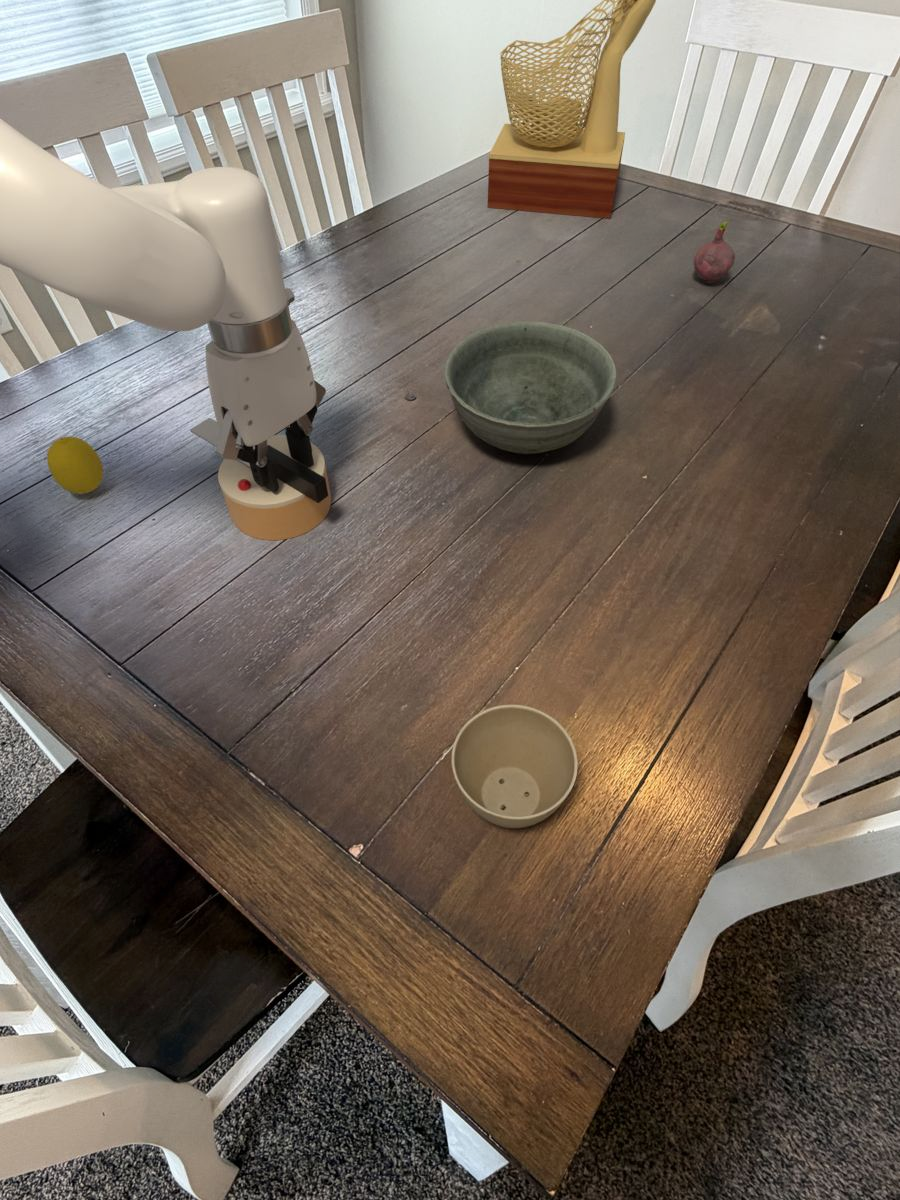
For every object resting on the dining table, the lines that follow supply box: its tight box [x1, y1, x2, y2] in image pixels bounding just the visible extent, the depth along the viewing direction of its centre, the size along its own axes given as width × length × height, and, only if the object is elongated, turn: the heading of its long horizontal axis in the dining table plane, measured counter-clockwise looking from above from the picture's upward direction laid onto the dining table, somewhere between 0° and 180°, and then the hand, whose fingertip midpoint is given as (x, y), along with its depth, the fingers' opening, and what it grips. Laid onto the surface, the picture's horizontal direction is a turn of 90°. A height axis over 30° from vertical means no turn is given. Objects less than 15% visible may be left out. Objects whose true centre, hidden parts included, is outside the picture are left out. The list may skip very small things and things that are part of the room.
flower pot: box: [451, 704, 579, 829], centre depth 61 cm, size 10×10×7 cm
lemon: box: [46, 436, 104, 495], centre depth 86 cm, size 6×6×8 cm
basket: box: [487, 0, 657, 219], centre depth 128 cm, size 25×18×35 cm
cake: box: [217, 434, 332, 541], centre depth 85 cm, size 12×12×6 cm
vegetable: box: [693, 221, 736, 284], centre depth 116 cm, size 6×6×10 cm
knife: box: [189, 417, 328, 503], centre depth 83 cm, size 3×21×3 cm, turn 51°
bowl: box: [443, 320, 617, 455], centre depth 91 cm, size 21×21×10 cm
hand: (285, 472), depth 81 cm, fingers open, 4 cm apart
